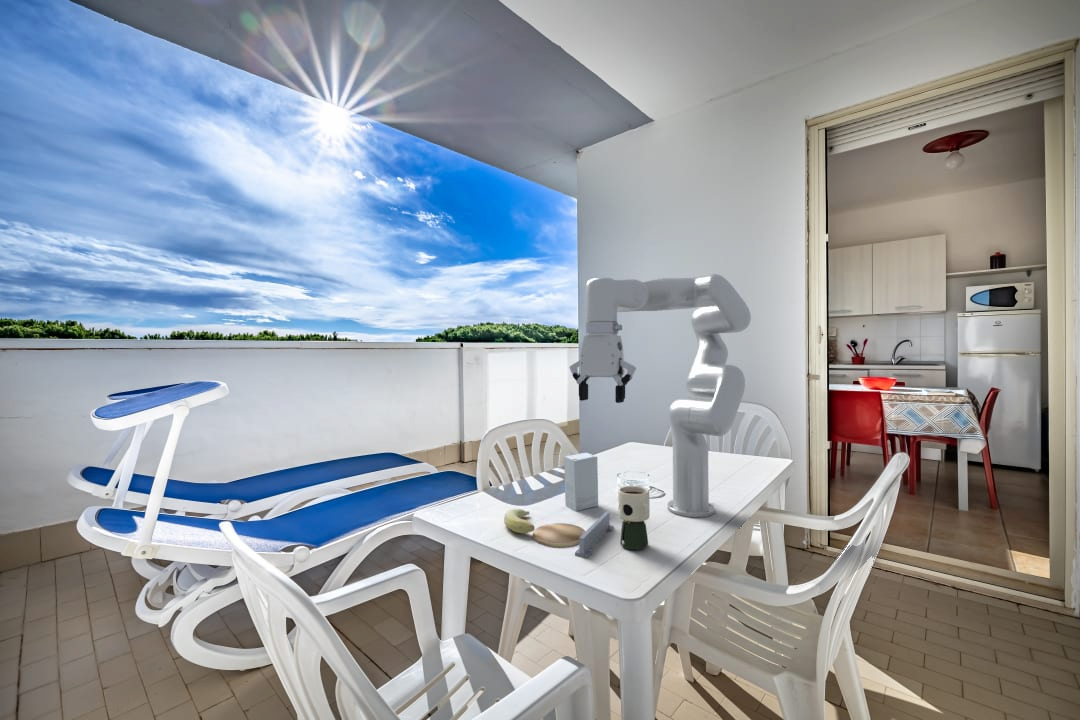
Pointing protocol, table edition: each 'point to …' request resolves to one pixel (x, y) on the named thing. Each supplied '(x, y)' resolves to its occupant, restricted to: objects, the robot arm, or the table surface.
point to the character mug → (633, 515)
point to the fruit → (518, 521)
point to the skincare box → (581, 481)
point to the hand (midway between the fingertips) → (601, 401)
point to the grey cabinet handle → (593, 535)
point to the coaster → (558, 535)
